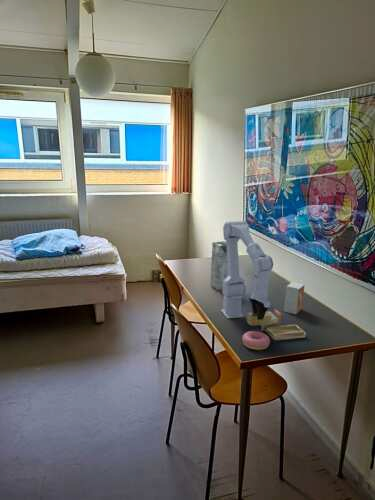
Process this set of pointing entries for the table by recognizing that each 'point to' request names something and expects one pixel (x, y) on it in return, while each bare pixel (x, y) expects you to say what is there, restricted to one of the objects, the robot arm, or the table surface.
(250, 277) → the table surface
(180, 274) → the table surface
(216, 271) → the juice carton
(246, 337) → the doughnut
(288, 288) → the small box
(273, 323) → the socket sleeve
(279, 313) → the salmon pink block
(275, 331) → the beige tray
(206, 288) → the table surface
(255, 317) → the olive rectangular pillar
